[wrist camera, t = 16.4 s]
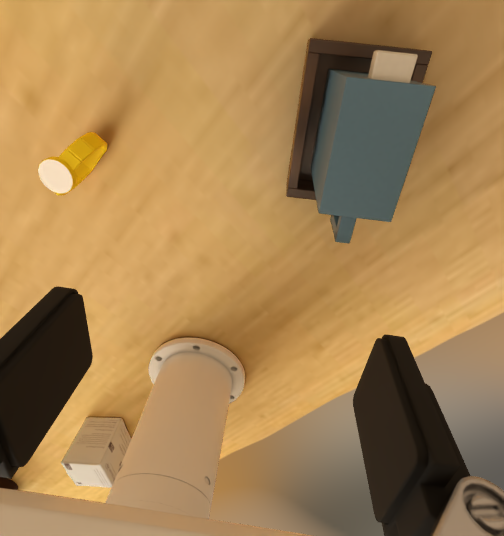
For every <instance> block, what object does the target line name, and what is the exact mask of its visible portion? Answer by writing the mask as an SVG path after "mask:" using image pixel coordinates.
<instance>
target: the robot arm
mask: <svg viewBox="0 0 504 536" xmlns="http://www.w3.org/2000/svg"><path fill="white" fill-rule="evenodd" d="M91 363H92V349H91V344H90V338H89V332H88V326H87V320H86V314H85V308H84V302H83V297H82V295H80V294H78V292H77V290H75V289H71V288H64V287H54V288H53V289H52V290H51V291H50V292H49V293H48V294H47V295H46V296H45V297H44V298H42V299H41V300H40V301H39V302H38V303H37V304H36V305H35V306H34V307H33V308H32V309H31V310H30V311H29V312H28V313H27V314H26V315H25V316H24V317H23V318H22V319H21V320H20V321H19V322H18V323H17V324H16V325H14V326H13V327H12V328H11V329H10V330H9V331H8V332H7V333H6V334H5V335H4V336H3V337H2V338H1V339H0V477H4V478H10V479H12V477H13V476H14V474H15V473H16V471H17V470H18V468H19V467H23V466H25V465H26V464H27V462H28V461H29V460H30V458H31V457H32V455H33V454H34V452H35V450H36V449H37V447H38V446H39V444H40V443H41V441H42V440H43V438H44V437H45V435H46V433H47V432H48V430H49V429H50V427H51V426H52V424H53V423H54V421H55V420H56V418H57V417H58V415H59V413H60V412H61V410H62V409H63V407H64V406H65V404H66V403H67V401H68V400H69V398H70V396H71V395H72V393H73V392H74V390H75V389H76V387H77V386H78V384H79V383H80V381H81V379H82V378H83V376H84V375H85V373H86V372H87V370H88V369H89V367H90V365H91ZM148 369H149V376H150V378H151V381H152V383H153V384H154V385H153V388H152V390H151V393H150V395H149V397H148V400H147V402H146V405H145V407H144V410H143V412H142V415H141V417H140V419H139V422H138V424H137V427H136V429H135V432H134V434H133V436H132V439H131V441H130V444H129V446H128V449H127V451H126V454H125V456H124V458H123V461H122V463H121V466H120V468H119V471H118V473H117V476H116V478H115V480H114V483H113V485H112V487H111V490H110V492H109V495H108V497H107V500H106V503H101V502H94V501H88V500H81V499H74V498H68V497H61V496H54V495H48V494H41V493H34V492H27V491H20V490H12V489H4V488H0V536H312V535H306V534H299V533H293V532H287V531H281V530H275V529H268V528H262V527H256V526H249V525H243V524H237V523H231V522H224V521H217V520H212V519H209V515H210V510H211V504H212V498H213V492H214V487H215V481H216V475H217V469H218V464H219V458H220V452H221V446H222V441H223V435H224V429H225V423H226V418H227V412H228V406H229V404H230V403H232V402H233V401H235V400H236V399H237V398H238V397H239V396H240V394H241V393H242V391H243V388H244V384H245V372H244V368H243V366H242V364H241V362H240V361H239V360H238V358H237V357H236V356H235V355H234V354H233V353H232V352H231V351H229V350H228V349H226V348H225V347H223V346H221V345H219V344H217V343H215V342H212V341H209V340H206V339H200V338H187V337H186V338H178V339H174V340H171V341H168V342H166V343H164V344H162V345H161V346H160V347H159V348H157V349H156V351H155V352H154V354H153V356H152V358H151V360H150V363H149V368H148ZM353 407H354V412H355V417H356V422H357V427H358V432H359V437H360V443H361V448H362V453H363V458H364V463H365V469H366V474H367V479H368V484H369V489H370V494H371V499H372V504H373V510H374V514H375V518H376V520H377V521H378V522H382V526H383V531H384V535H385V536H504V491H503V490H502V489H501V488H499V487H498V486H496V485H495V484H493V483H491V482H490V481H488V480H485V479H482V478H479V477H473V476H470V474H469V472H468V469H467V467H466V465H465V463H464V460H463V459H462V456H461V454H460V451H459V449H458V447H457V445H456V443H455V440H454V438H453V436H452V434H451V431H450V429H449V427H448V425H447V422H446V420H445V418H444V415H443V413H442V411H441V409H440V407H439V404H438V402H437V400H436V398H435V395H434V393H433V391H432V389H431V388H430V386H428V385H427V384H425V383H424V380H423V378H422V376H421V373H420V371H419V369H418V366H417V364H416V362H415V360H414V357H413V355H412V352H411V350H410V348H409V346H408V343H407V341H406V339H405V338H404V337H399V336H392V335H384V336H383V337H382V339H381V338H378V339H376V341H375V344H374V346H373V349H372V351H371V354H370V356H369V359H368V361H367V364H366V366H365V369H364V371H363V374H362V376H361V379H360V381H359V384H358V386H357V389H356V391H355V394H354V398H353Z"/></svg>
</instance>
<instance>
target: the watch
mask: <svg viewBox="0 0 504 536" xmlns="http://www.w3.org/2000/svg"><path fill="white" fill-rule="evenodd" d="M107 146H108V145H107V143H106V142H105V141H104V140H103V139H102V138H101V137H99V136H98V135H97V134H96V133H93V132H89V133H87V134H85V135H83V136H81V137H80V138H78V139H77V140H76V141H74V142H73V143H72V144H71V145H70V146H69V147H67V149H65V150H64V152H63V153H62V154H61V155H60V156H59V157H49V158H47V159H45V160H43V161H42V162H41V163H40V164H39V167H38V174H39V177H40V179H41V181H42V182H43V184H44V185H45V186H46V187H47V188H48V189H50V190H51V191H53V192H54V193H56V194H57V195H65V194H67V193H68V192H70V191H71V190H72V189H74V188H75V187H76V186H77V185H78V184H80V183H81V182H82V180H84V179H85V178H86V177H87V176H88V175H89V174H90V173H91V172H92V170H93V169H94V167H95V166H96V164H97V163H98V162H99V160H100V159H101V157H102V156H103V154H104V153H105V152H106V151H107Z"/></svg>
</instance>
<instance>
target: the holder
mask: <svg viewBox="0 0 504 536" xmlns="http://www.w3.org/2000/svg"><path fill="white" fill-rule="evenodd" d="M376 50H381V51H390V52H400V53H409V54H417V56H418V57H417V60H416V64H415V67H414V71H413V74H412V77H411V81H416V82H420V83H423V80H424V77H425V73H426V70H427V67H428V64H429V61H430V58H431V54H432V51H427V50H417V49H408V48H398V47H389V46H379V45H370V44H361V43H351V42H342V41H332V40H323V39H313V38H310V39H309V40H308V43H307V50H306V57H305V63H304V70H303V77H302V84H301V90H300V97H299V104H298V111H297V117H296V124H295V131H294V138H293V145H292V151H291V158H290V165H289V172H288V178H287V190H286V196H287V197H295V198H303V199H311V200H316V195H315V190H314V184H313V179H312V173H311V162H312V157H313V151H314V146H315V140H316V135H317V129H318V124H319V118H320V113H321V107H322V102H323V96H324V91H325V85H326V80H327V74H328V69H337V70H346V71H355V72H364V73H369V70H370V65H371V61H372V57H373V53H374V51H376Z"/></svg>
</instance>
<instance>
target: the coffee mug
mask: <svg viewBox="0 0 504 536" xmlns="http://www.w3.org/2000/svg"><path fill="white" fill-rule="evenodd" d="M0 488H4V489H12V490H17V489H18V486H17V485H16V484H15V483H14V482H13V481H12V480H10V479H8V478H4V477H0Z"/></svg>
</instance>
